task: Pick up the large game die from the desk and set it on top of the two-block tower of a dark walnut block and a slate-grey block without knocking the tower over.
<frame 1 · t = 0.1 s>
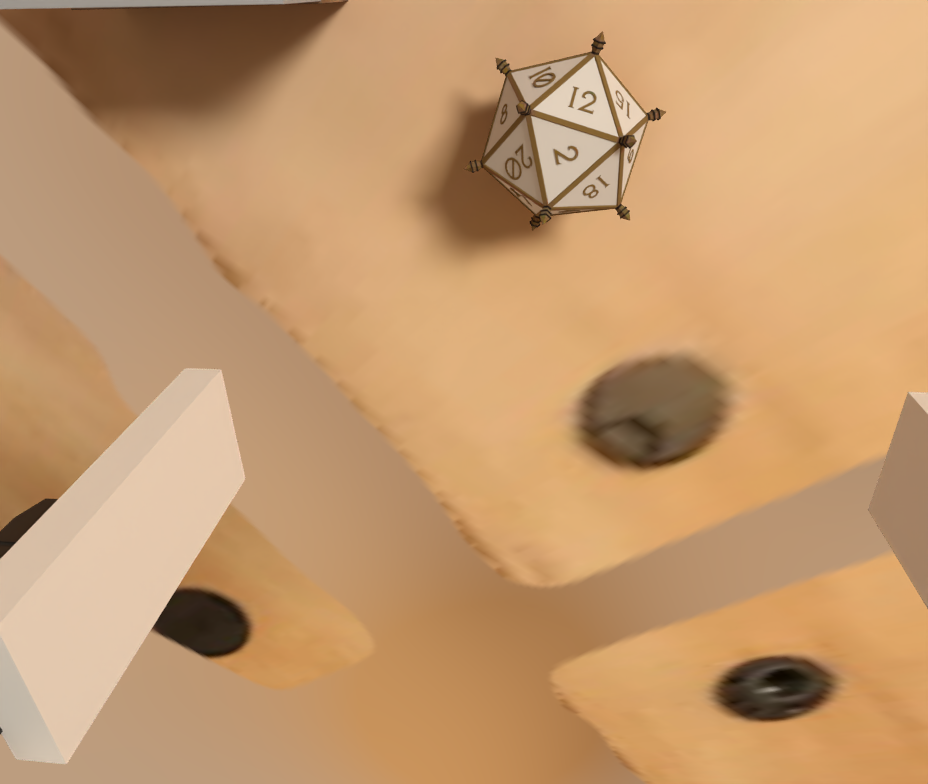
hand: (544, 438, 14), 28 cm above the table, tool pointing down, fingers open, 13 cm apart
game die: (563, 125, 37), on the table
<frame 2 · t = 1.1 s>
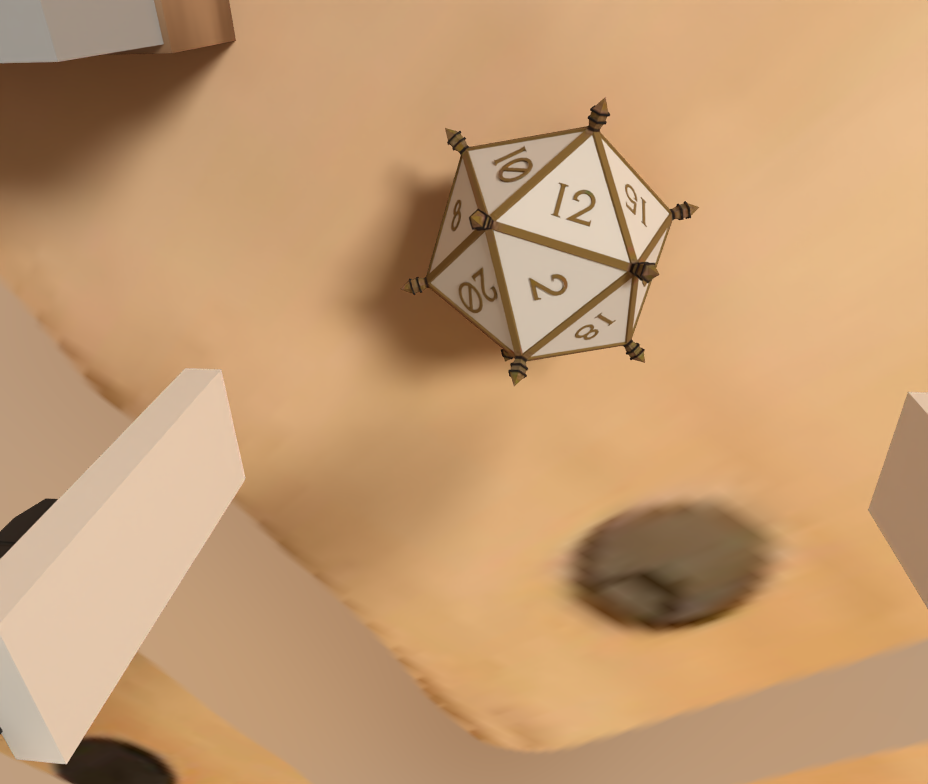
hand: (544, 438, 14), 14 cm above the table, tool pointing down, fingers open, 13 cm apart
game die: (548, 211, 26), on the table
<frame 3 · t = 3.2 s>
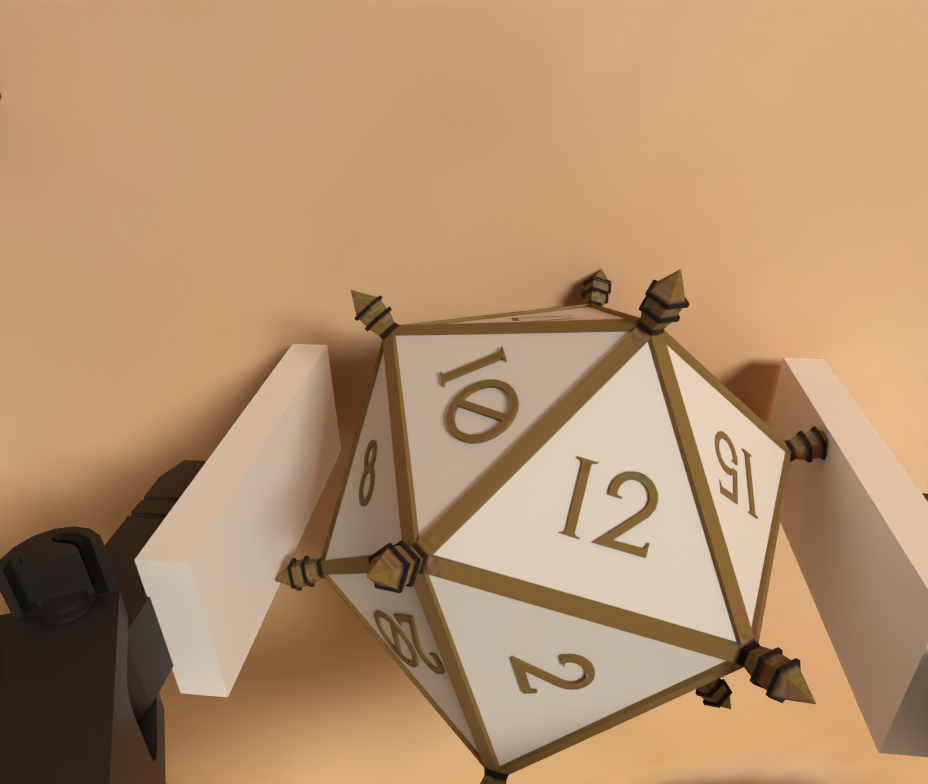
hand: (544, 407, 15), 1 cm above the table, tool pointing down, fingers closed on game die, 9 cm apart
game die: (551, 389, 16), on the table, touching gripper
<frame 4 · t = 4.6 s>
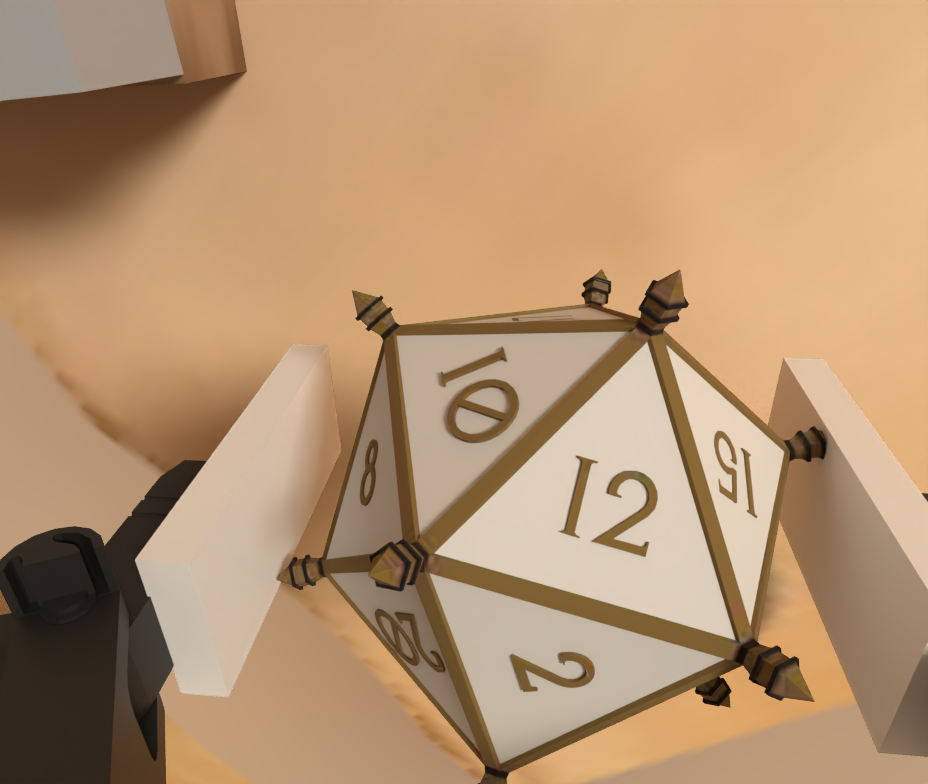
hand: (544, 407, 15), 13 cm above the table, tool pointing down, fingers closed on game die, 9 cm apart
game die: (551, 389, 16), point 12 cm above the table, touching gripper
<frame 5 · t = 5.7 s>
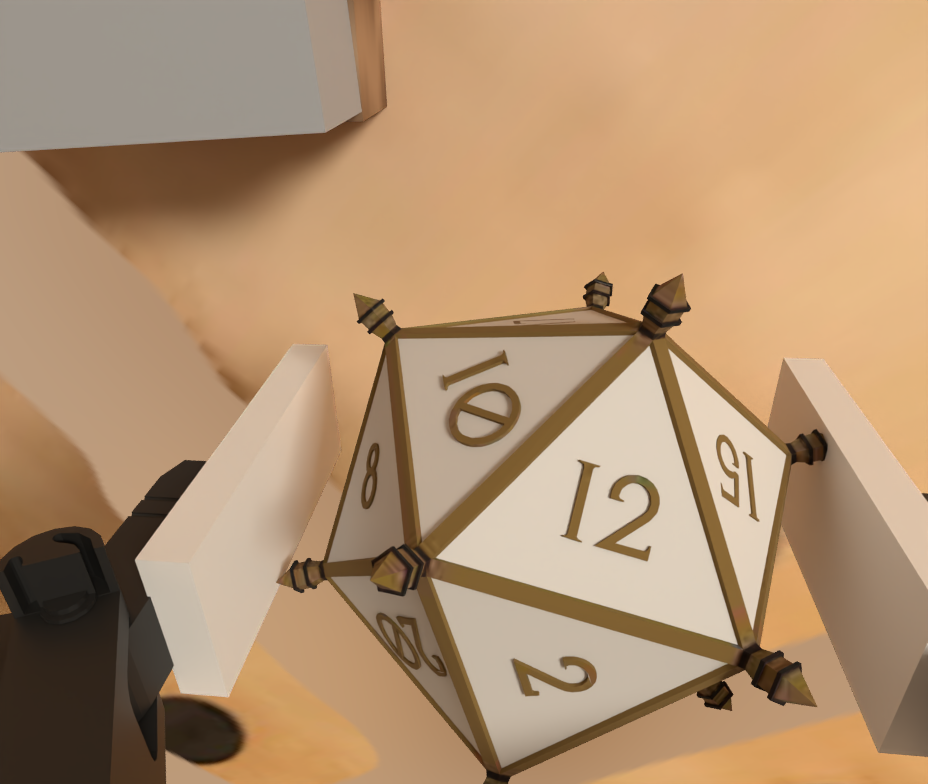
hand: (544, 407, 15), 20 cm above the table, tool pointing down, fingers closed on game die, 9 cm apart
game die: (553, 391, 16), point 19 cm above the table, touching gripper
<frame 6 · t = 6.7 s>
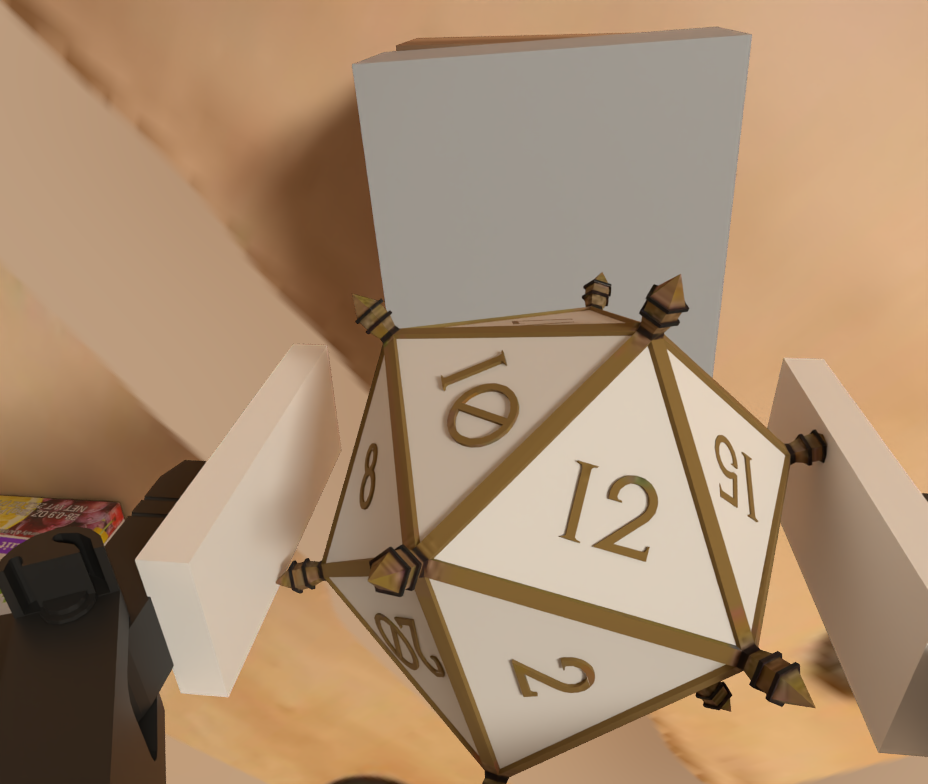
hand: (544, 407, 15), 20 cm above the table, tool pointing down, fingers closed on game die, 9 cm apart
tower base: (552, 178, 33), on the table, touching tower top
tower top: (547, 204, 28), point 5 cm above the table, touching tower base
game die: (552, 391, 16), point 20 cm above the table, touching gripper
when the fingers open (12 cm above the table, at t = 9.0 s): game die drops 2 cm, resting on tower top.
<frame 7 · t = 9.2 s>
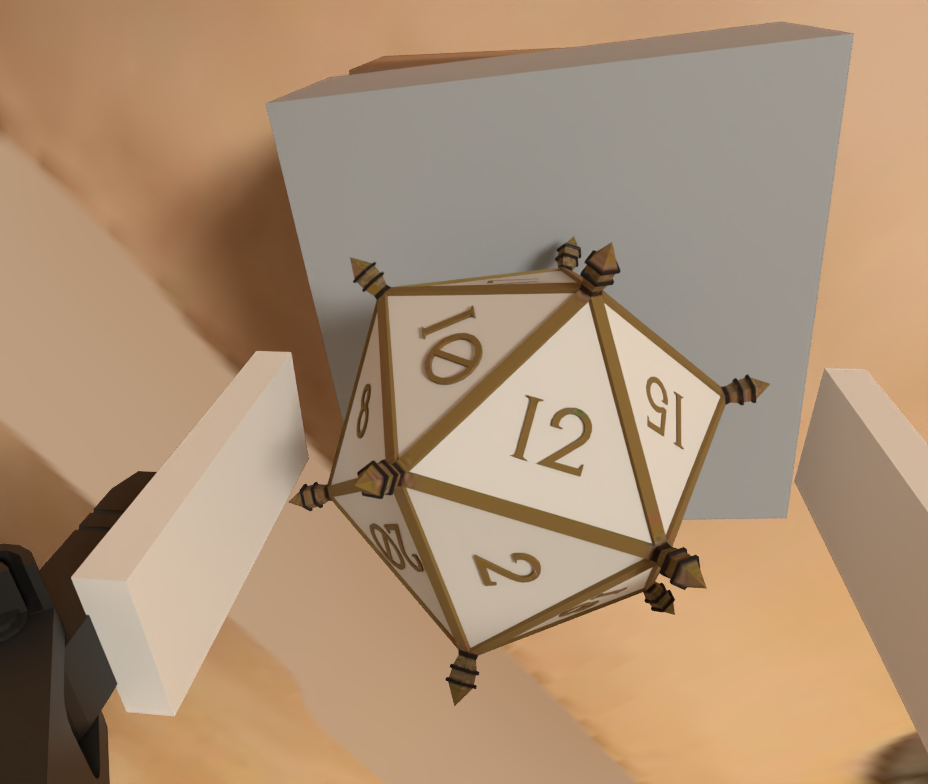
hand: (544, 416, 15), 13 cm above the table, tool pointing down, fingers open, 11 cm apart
tower base: (560, 225, 26), on the table, touching tower top
tower top: (556, 264, 22), point 5 cm above the table, touching game die, tower base
game die: (533, 343, 18), point 9 cm above the table, touching gripper, tower top
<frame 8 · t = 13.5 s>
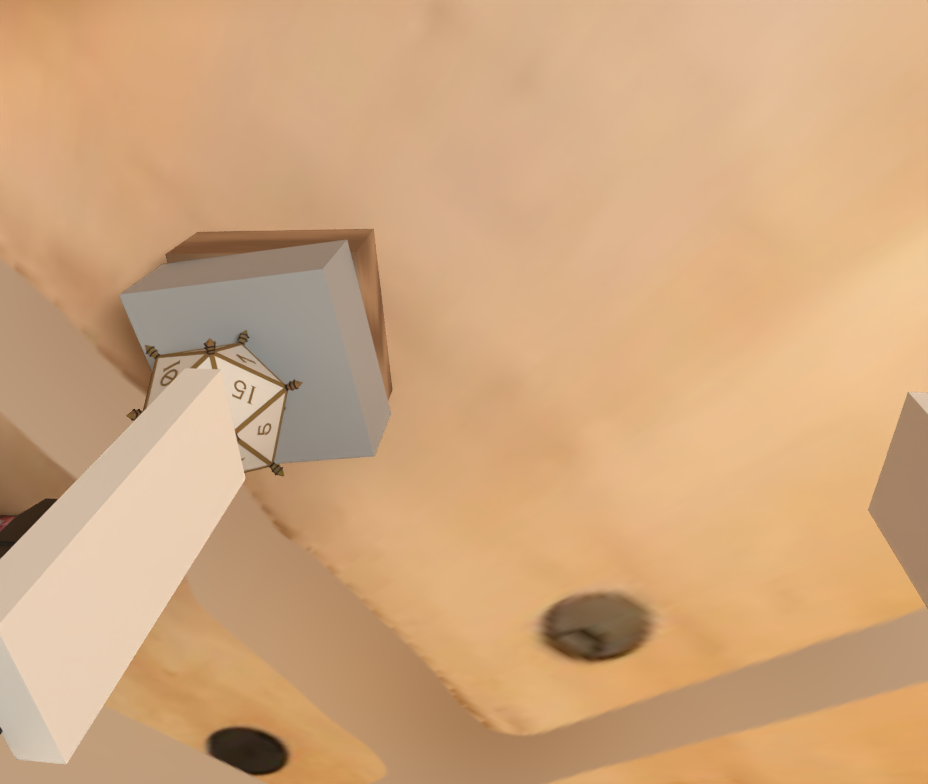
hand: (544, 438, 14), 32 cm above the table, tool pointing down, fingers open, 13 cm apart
tower base: (301, 312, 49), on the table, touching tower top
tower top: (281, 341, 45), point 4 cm above the table, touching game die, tower base
game die: (245, 374, 41), point 9 cm above the table, touching tower top
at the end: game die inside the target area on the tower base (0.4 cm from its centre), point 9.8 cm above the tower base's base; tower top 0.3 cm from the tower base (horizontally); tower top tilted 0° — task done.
